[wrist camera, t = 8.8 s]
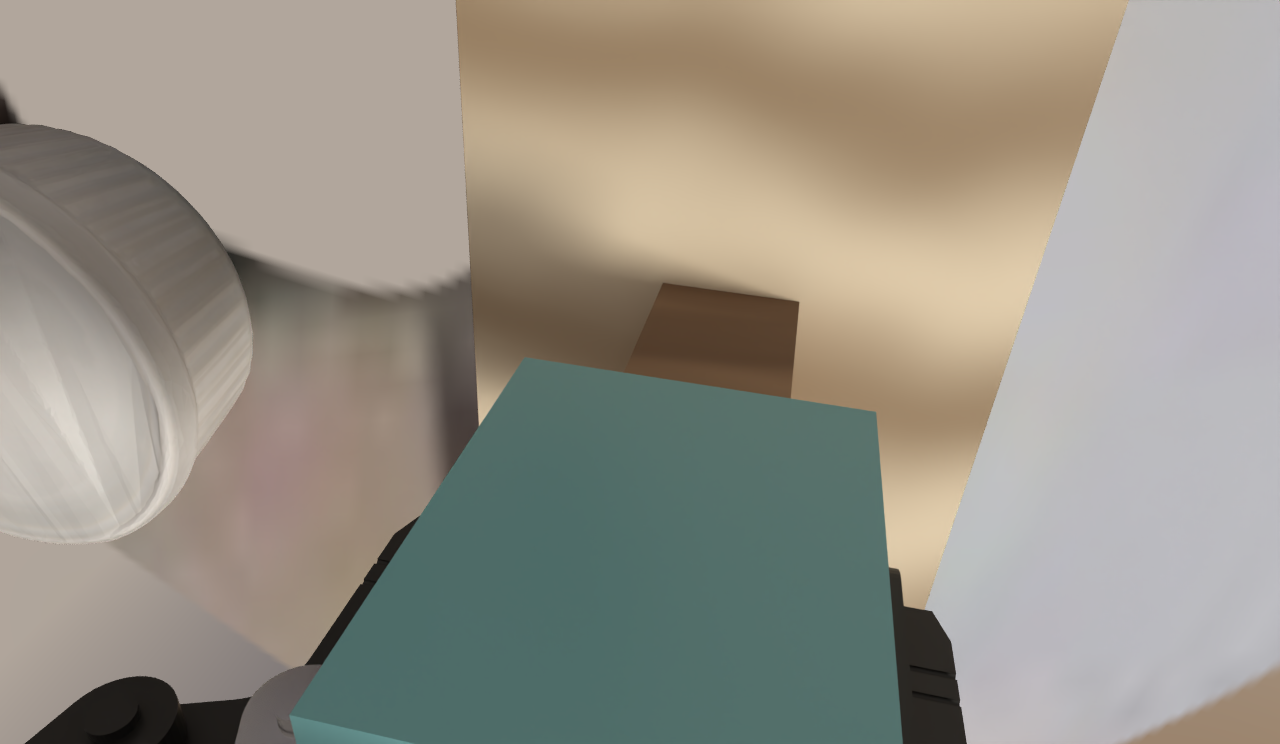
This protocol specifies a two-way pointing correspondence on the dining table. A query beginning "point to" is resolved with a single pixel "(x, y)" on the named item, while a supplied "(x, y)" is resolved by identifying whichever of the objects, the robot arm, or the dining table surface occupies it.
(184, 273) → the ramekin
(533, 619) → the teal toy cube
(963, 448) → the post block
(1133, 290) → the dining table surface
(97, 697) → the robot arm
